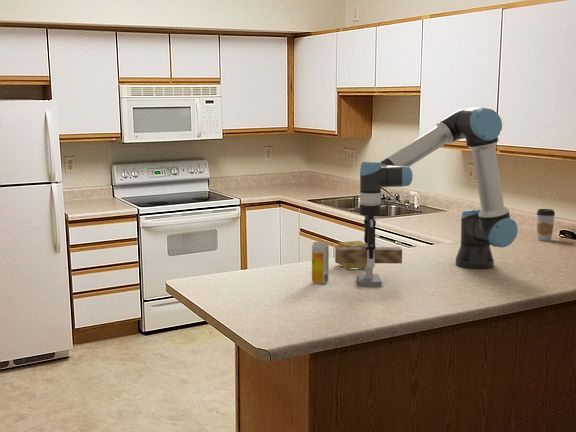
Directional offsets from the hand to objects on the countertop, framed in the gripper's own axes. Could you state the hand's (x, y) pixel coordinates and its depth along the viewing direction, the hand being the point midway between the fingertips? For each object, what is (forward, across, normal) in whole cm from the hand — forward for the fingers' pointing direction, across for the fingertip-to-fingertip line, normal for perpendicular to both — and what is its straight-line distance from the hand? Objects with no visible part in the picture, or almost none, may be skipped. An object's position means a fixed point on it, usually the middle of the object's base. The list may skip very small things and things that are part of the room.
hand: (369, 263), depth 252 cm
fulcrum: (+7, 0, 0) cm, 7 cm away
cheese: (+8, -27, -4) cm, 28 cm away
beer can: (+7, 0, -18) cm, 19 cm away
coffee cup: (+7, -86, +93) cm, 127 cm away
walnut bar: (-1, 0, 0) cm, 1 cm away
